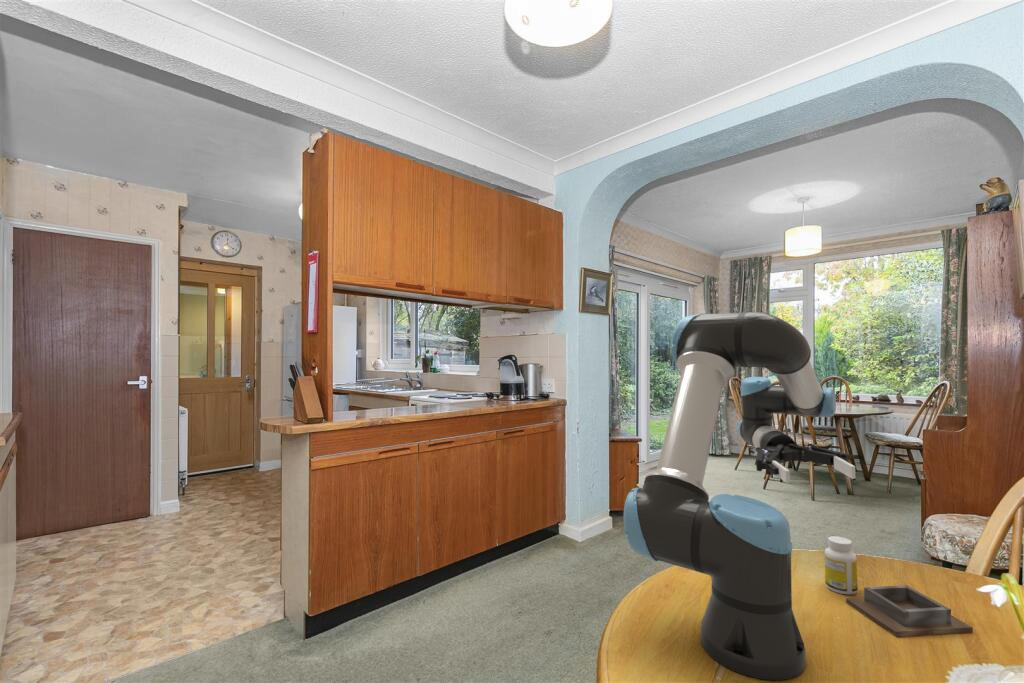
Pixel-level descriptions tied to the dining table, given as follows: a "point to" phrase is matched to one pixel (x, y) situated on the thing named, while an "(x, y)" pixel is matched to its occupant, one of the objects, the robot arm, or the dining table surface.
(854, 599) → the collar holder
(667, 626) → the dining table surface
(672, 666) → the dining table surface
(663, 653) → the dining table surface
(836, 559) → the supplement bottle
